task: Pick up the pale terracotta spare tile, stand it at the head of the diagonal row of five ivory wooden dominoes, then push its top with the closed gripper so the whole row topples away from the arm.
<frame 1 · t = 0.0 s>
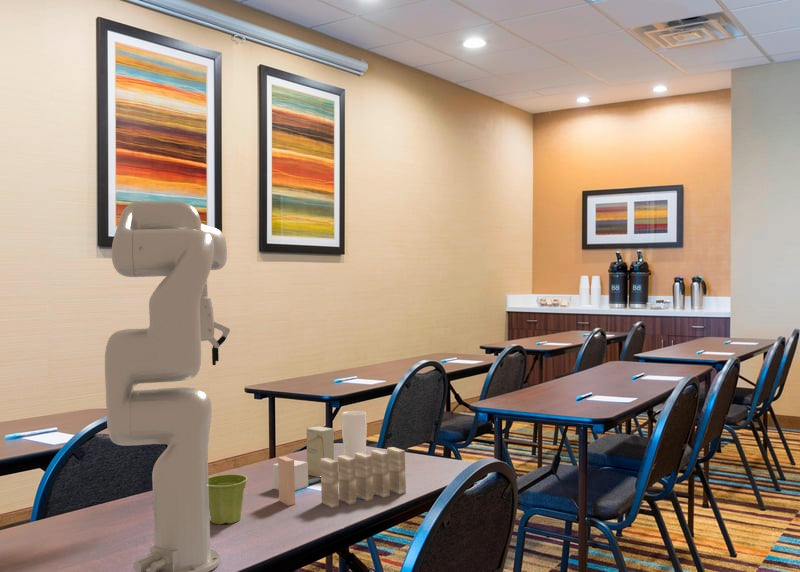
hand: (193, 365, 178), 31 cm above the table, tool pointing down, fingers open, 9 cm apart
skincare box: (320, 475, 197), on the table
domino 5: (397, 491, 179), on the table
drinking glass: (355, 469, 203), on the table
domino 3: (364, 497, 175), on the table
domino 4: (381, 494, 177), on the table
domino 2: (347, 501, 172), on the table
white cube: (291, 488, 186), on the table
plant pot: (226, 521, 161), on the table
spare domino: (287, 502, 173), on the table
domino 1: (330, 504, 170), on the table
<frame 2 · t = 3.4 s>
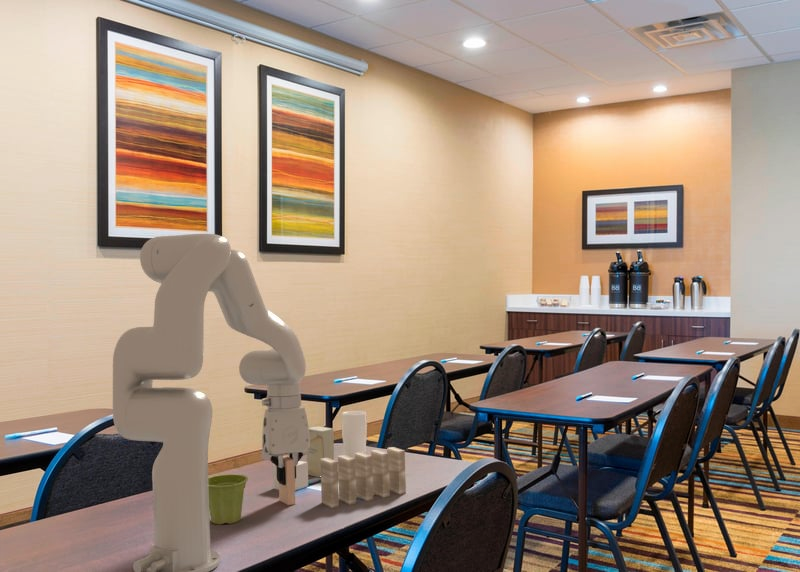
hand: (286, 482, 173), 4 cm above the table, tool pointing down, fingers closed on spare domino
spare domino: (287, 502, 173), on the table, touching gripper
everything else where it was.
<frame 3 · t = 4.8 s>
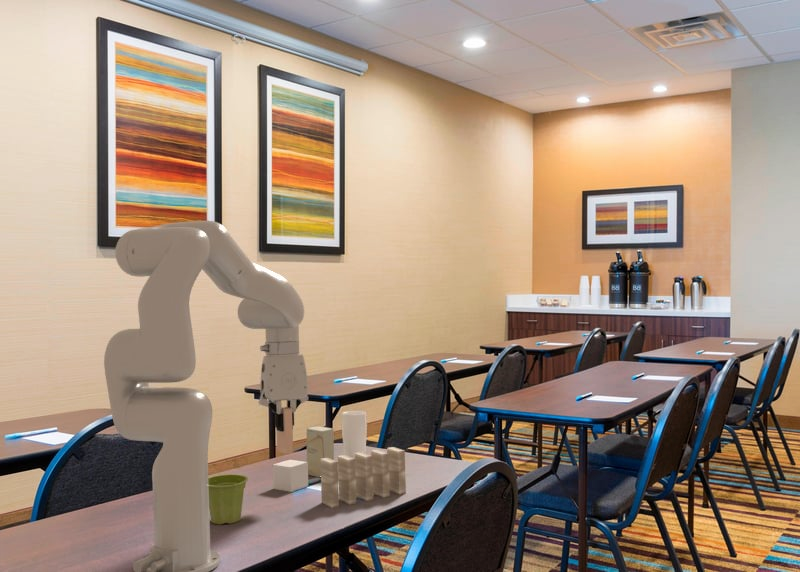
hand: (284, 429, 173), 17 cm above the table, tool pointing down, fingers closed on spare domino, 1 cm apart
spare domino: (285, 451, 173), point 12 cm above the table, touching gripper
everything else where it was.
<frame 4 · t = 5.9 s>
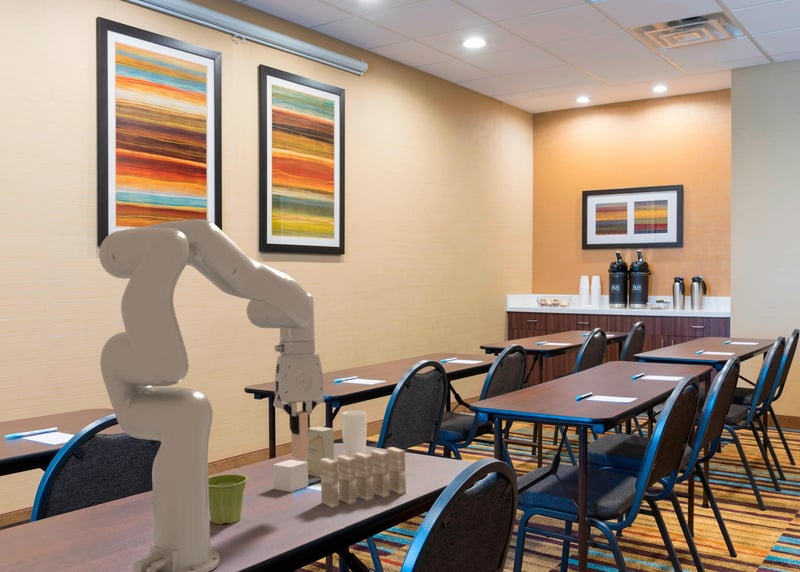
hand: (300, 432, 166), 17 cm above the table, tool pointing down, fingers closed on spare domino, 1 cm apart
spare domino: (300, 457, 167), point 12 cm above the table, touching gripper
everything else where it was.
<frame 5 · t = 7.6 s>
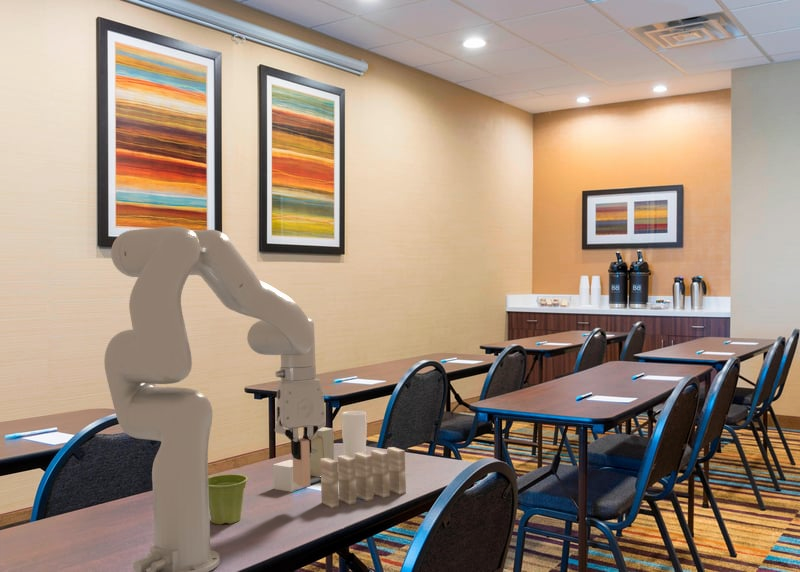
hand: (301, 457, 167), 12 cm above the table, tool pointing down, fingers closed on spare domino, 1 cm apart
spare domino: (301, 484, 167), point 6 cm above the table, touching gripper
everything else where it was.
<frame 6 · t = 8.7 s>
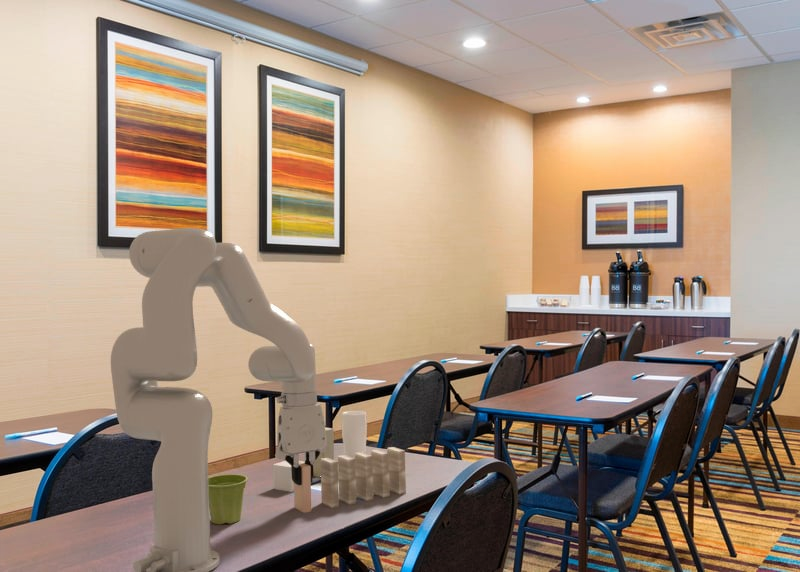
hand: (302, 482, 167), 6 cm above the table, tool pointing down, fingers closed on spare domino, 1 cm apart
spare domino: (302, 509, 167), on the table, touching gripper
everything else where it was.
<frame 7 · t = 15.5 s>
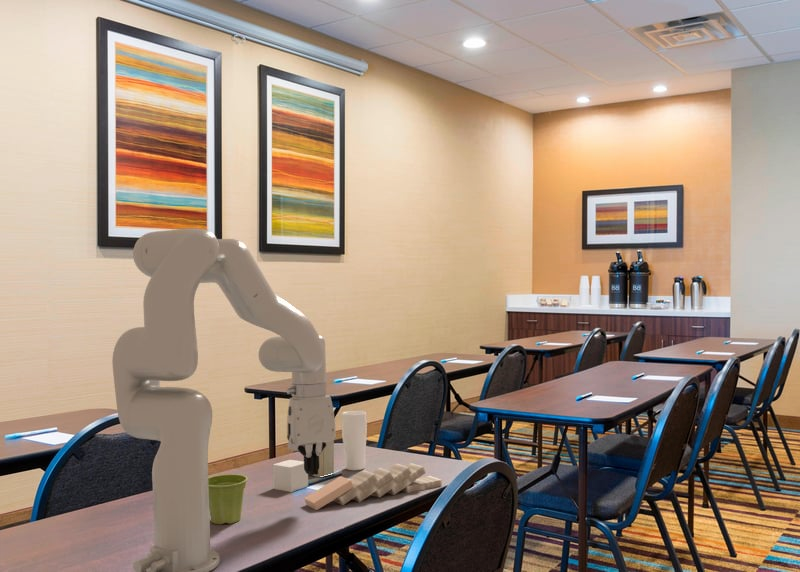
hand: (311, 473, 168), 8 cm above the table, tool pointing down, fingers closed
domino 5: (401, 488, 180), on the table, tilted 90°, touching domino 4
domino 3: (372, 492, 176), point 1 cm above the table, tilted 66°, touching domino 2, domino 4
domino 4: (386, 489, 178), point 1 cm above the table, tilted 69°, touching domino 3, domino 5
domino 2: (352, 496, 173), point 1 cm above the table, tilted 66°, touching domino 1, domino 3
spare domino: (310, 504, 168), point 1 cm above the table, tilted 70°, touching domino 1
domino 1: (335, 499, 171), point 1 cm above the table, tilted 66°, touching domino 2, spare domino
everything else where it was.
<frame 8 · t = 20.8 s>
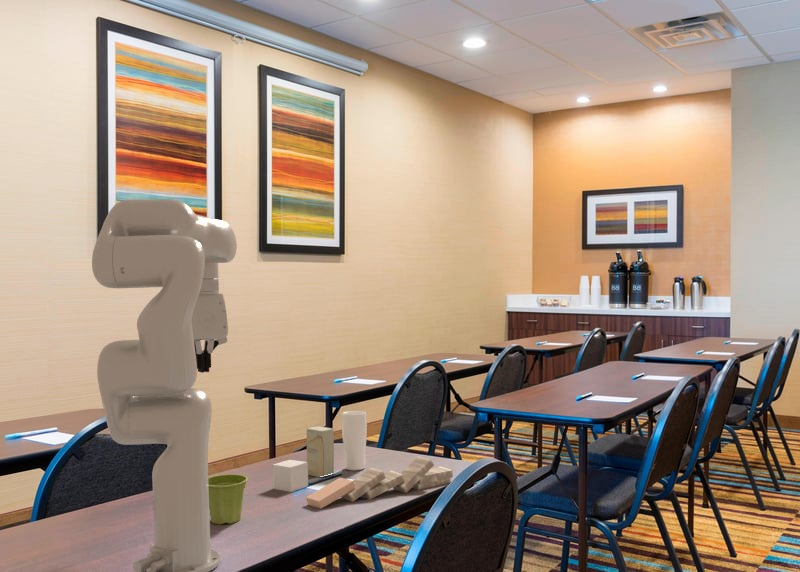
hand: (203, 371, 166), 31 cm above the table, tool pointing down, fingers closed
domino 5: (412, 486, 183), on the table, tilted 90°, touching domino 4
domino 3: (398, 488, 179), point 1 cm above the table, tilted 59°
domino 4: (413, 478, 183), point 2 cm above the table, tilted 90°, touching domino 5
domino 2: (363, 493, 175), point 1 cm above the table, tilted 75°, touching domino 1
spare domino: (313, 503, 168), point 1 cm above the table, tilted 75°, touching domino 1
domino 1: (345, 496, 173), point 1 cm above the table, tilted 67°, touching domino 2, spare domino
everything else where it was.
at the end: domino 5 tilted 90°; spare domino inside the target area (2.6 cm from its centre), point 0.9 cm above the table; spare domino tilted 75° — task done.
